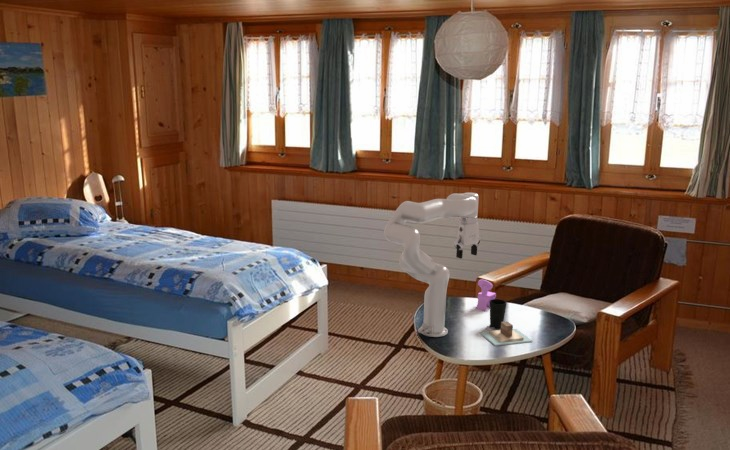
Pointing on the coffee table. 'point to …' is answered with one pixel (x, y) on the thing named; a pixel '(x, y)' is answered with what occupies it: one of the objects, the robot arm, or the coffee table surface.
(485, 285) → the toy chair
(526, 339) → the mat
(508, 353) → the coffee table surface
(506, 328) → the lid
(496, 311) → the cup
